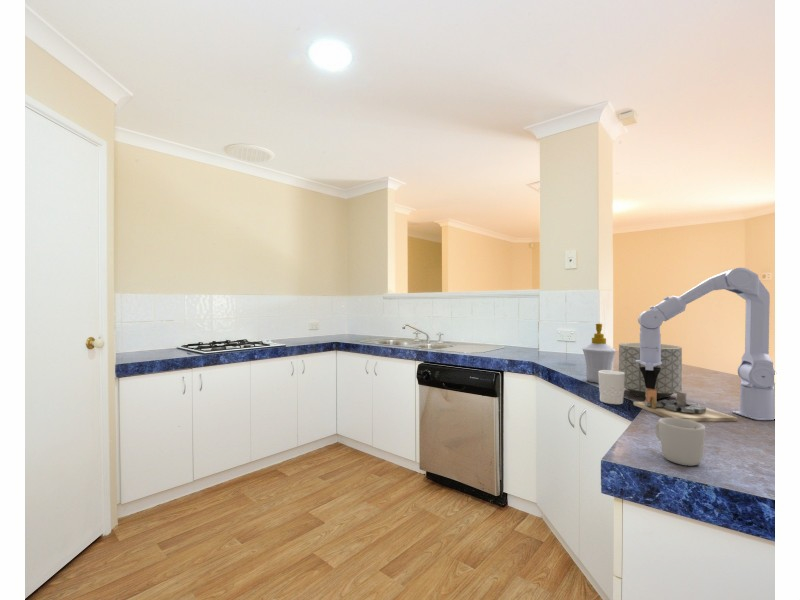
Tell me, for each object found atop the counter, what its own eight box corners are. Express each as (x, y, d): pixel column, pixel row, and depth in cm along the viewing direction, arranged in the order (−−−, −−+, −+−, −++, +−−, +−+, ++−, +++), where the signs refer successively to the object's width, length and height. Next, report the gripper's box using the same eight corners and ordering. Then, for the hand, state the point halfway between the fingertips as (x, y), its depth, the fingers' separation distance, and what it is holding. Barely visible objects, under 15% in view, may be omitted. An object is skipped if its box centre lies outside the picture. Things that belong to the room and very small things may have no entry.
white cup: (628, 405, 125) (628, 374, 125) (602, 404, 127) (602, 373, 127) (619, 399, 133) (620, 370, 133) (595, 398, 134) (595, 369, 135)
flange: (696, 405, 121) (696, 389, 121) (711, 414, 110) (711, 397, 111) (641, 400, 126) (641, 385, 126) (650, 409, 116) (650, 392, 116)
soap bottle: (616, 381, 166) (616, 323, 166) (614, 386, 155) (614, 324, 155) (584, 377, 172) (584, 322, 173) (580, 382, 162) (580, 323, 162)
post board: (686, 404, 127) (686, 386, 127) (736, 421, 109) (736, 399, 109) (633, 404, 126) (633, 386, 126) (675, 421, 108) (675, 400, 108)
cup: (640, 449, 87) (640, 413, 87) (673, 448, 88) (673, 413, 88) (678, 470, 76) (678, 429, 76) (716, 468, 77) (716, 428, 77)
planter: (639, 388, 152) (639, 342, 152) (693, 399, 134) (693, 347, 135) (607, 392, 143) (607, 343, 144) (660, 405, 126) (660, 349, 126)
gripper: (637, 344, 133) (637, 384, 133) (634, 348, 121) (634, 392, 121) (661, 346, 129) (662, 386, 129) (661, 350, 117) (661, 395, 117)
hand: (650, 389), depth 125 cm, fingers closed
